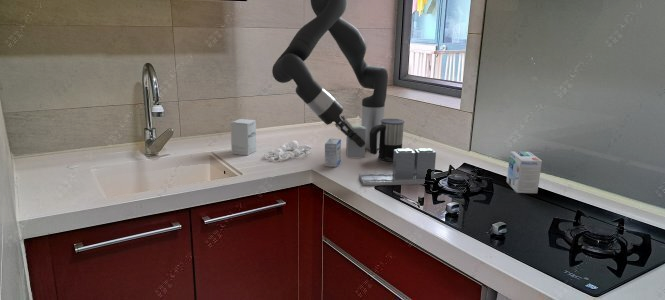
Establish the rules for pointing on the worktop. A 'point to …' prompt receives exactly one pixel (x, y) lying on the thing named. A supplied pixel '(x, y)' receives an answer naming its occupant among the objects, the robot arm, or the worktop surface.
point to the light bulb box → (524, 172)
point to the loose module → (352, 147)
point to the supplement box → (243, 136)
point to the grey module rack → (405, 168)
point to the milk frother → (387, 138)
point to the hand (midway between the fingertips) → (361, 143)
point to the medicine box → (332, 152)
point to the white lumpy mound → (281, 152)
